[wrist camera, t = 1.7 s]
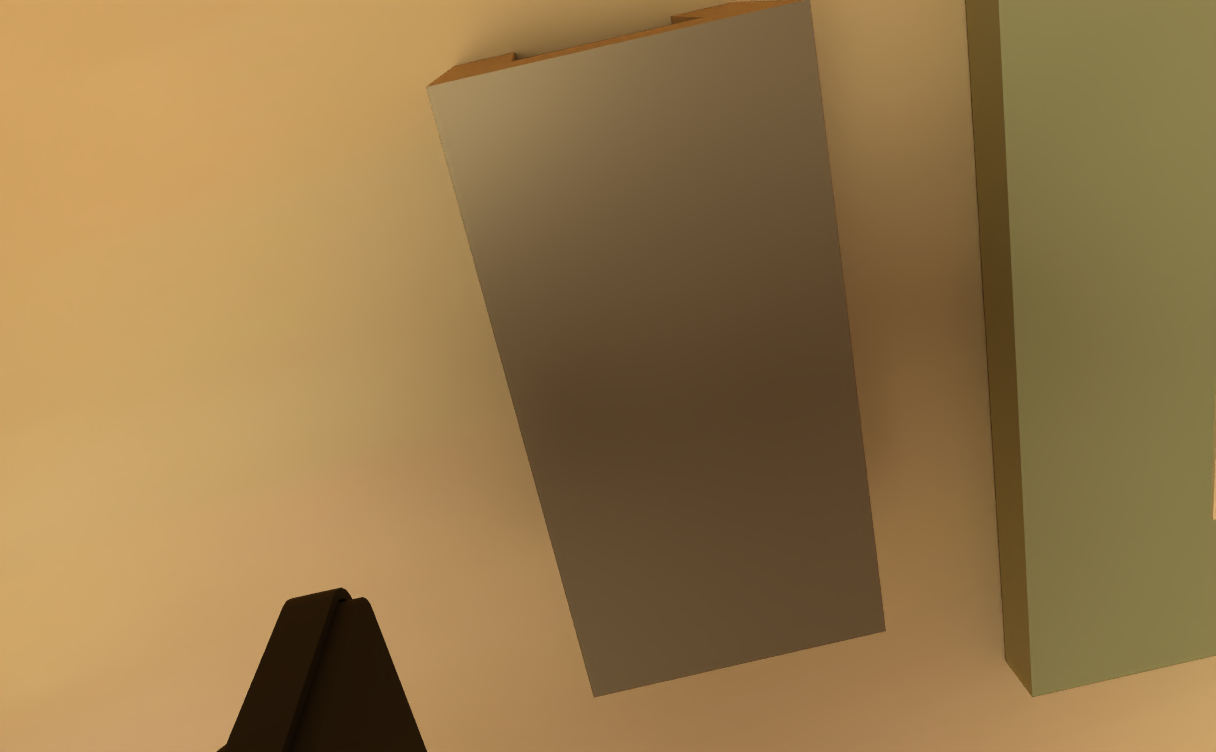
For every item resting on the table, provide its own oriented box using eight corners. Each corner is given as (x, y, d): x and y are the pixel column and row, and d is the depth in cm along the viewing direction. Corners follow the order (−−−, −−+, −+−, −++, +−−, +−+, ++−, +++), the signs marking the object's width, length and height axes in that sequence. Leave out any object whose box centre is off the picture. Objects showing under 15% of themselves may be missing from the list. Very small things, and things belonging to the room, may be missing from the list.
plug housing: (803, 488, 24) (885, 630, 19) (578, 539, 24) (594, 696, 19) (730, 2, 20) (809, -1, 14) (454, 65, 20) (426, 86, 14)
